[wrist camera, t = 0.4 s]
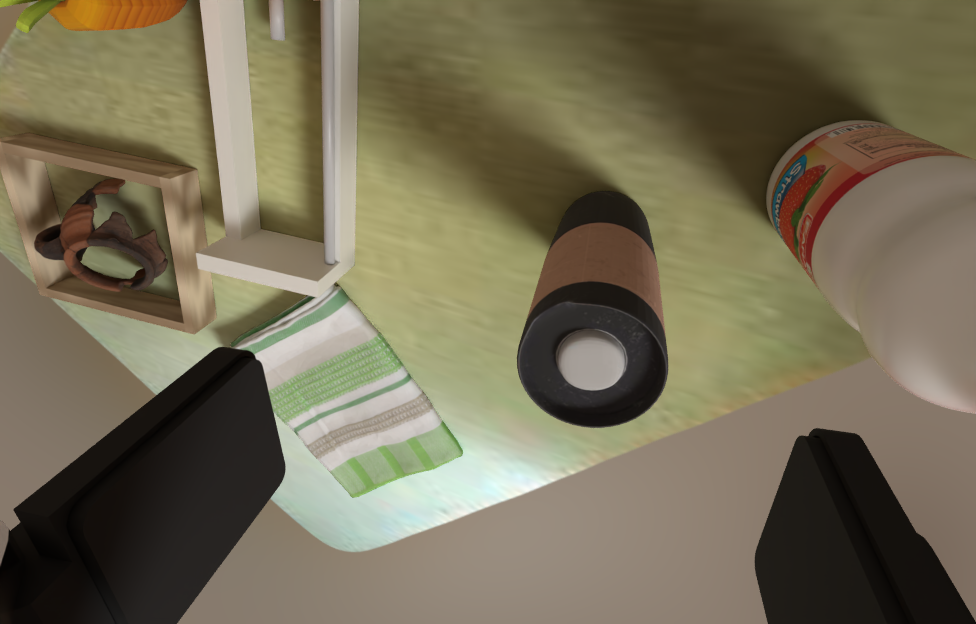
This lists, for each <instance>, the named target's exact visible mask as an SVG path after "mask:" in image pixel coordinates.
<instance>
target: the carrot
mask: <svg viewBox="0 0 976 624" xmlns="http://www.w3.org/2000/svg"><path fill="white" fill-rule="evenodd" d="M33 1H37V0H0V7H5V6H9V5H15V4H22V3H28V2H33ZM186 2H187V0H39V1H38V2H37V3H35V4H33V5H31V6H30V7H28V8H26V9H25V10H24V11H23V12H22V14H21V15H20V16H19V18H18V21H17V23H16V27H17V28H18V29H20V30H21V31H23V32H26V33H28V32H29V31H30V30H31V29H32V27H33V26H34V25H35V23H37V22H38V21H39V20H40V19H41V18H42V17H43V16H45V15H46V14H47V13H48V12H49V13H50V14H51V15H52V16H53V17H54V18H55V19H56V20H57V21H58V22H59V23H60V24H61V25H63V26H64V27H65V28H66V29H69V30H75V31H92V30H118V29H131V28H142V27H147V26H150V25H154V24H158V23H161V22H163V21H166V20H169V19H171V18H172V17H173V16H175V15H176V14H177V13H179V12H180V10H181V9H182V8H183V7H184V5H185V4H186Z"/></svg>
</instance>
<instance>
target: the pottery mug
mask: <svg viewBox="0 0 976 624" xmlns="http://www.w3.org/2000/svg"><path fill="white" fill-rule="evenodd" d="M124 184H125V180H123V179H108V180H104V181H101V182H99V183H97V184H96V185H95V186H94V187H93V188H91V189H89V190H88V191H87V192H86V193H85V194H84V195H83V196H82V197H81V198H79V199H78V200H77V201H76V202H75V203H74V204H73V205H72V207H71V208H70V209H69V210H68V211H67V213H66V215H65V217H64V219H63V220H62V223H61V224H57V225H54V226H51V227H49V228H47V229H45V230H43V231H42V232H40V233H39V234H37V236H36V239H35V241H34V248H35V250H36V251H37V252H38V253H40V254H41V255H42V256H43V257H44V258H47V259H51V260H64V262H65V264H66V266H67V268H68V269H69V270H70V271H71V272H72V273H73V274H74V275H75V276H77V277H78V278H79V279H81V280H82V281H84V282H86V283H88V284H90V285H93V286H95V287H99V288H101V289H105V290H110V291H116V292H120V291H122V289H123V286H124V285H127V284H129V285H130V284H131V286H130V288H131V289H133V290H142V289H145V288H146V287H148V286H149V285H150V284H151V283H152V282H153V281H154V278H156V277H158V276H159V275H161V274H162V273H163V272H164V271H165V269H166V267H167V263H168V260H167V259H166V258H165V257H166V255H165V253H164V251H163V250H162V249H161V248H160V246H159V245H158V243H157V235H156V231H155V230H152V231H151V232H150V233H148V234H146V235H143V236H140V237H138V238H135V239H133V238H132V230H131V228H130V227H129V225H128V224H127V222H126V219H125V217H124V216H123V215H121V214H119V213H118V212H112V214H111V216H110V218H109V220H107V221H105V222H104V223H103V224H102V225H101V226H100V227H98V228H97V229H96V230H95V228H94V225H93V223H92V222H93V217H94V211H93V210H94V209H96V208H97V203H96V198H95V196H96V195H99V194H116V193H118V191H119V188H120V187H121V186H123V185H124ZM89 246H104V247H109V248H113V249H117V250H120V251H123V252H125V253H127V254H129V255H131V256H132V257H134V258H135V259H136V260H138V261H139V262H140V263H141V264H142V266H143V267H144V268H143V269H140V270H138V271H137V272H136V274H135V276H134V277H133V278H131V279H121V278H114V277H109V276H106V275H103V274H101V273H98V272H96V271H94V270H92V269H90V268H88V267H87V266H85V265H83V264H82V263H81V262H80V261H82V257H83V254H84V253H85V251H86V249H87V247H89Z"/></svg>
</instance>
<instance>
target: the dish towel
mask: <svg viewBox="0 0 976 624" xmlns="http://www.w3.org/2000/svg"><path fill="white" fill-rule="evenodd" d="M231 346H232V348H235V349H242V350H248V351H251V352H252V353H253V354H254V355H255V357H256V359H257V360H259V361H260V362H261V363H262V365H263V369H264V373H265V378H266V382H267V387H268V391H269V395H270V400H271V404H272V409H273V411H274V412H275V414H276V415H277V416H278V417H279V418H280V419H281V420H282V421H283V422H284V423H285V424H286V425H287V426H289V427H290V428H291V429H292V430H293V431H294V432H295V433H296V435H297V436H298V437H299V438H300V439H301V440H302V441H303V443H304V444H305V446H306V447H307V448H308V449H309V451H310V452H311V453H312V454H313V455H314V456H315V457H316V458H317V459H318V460H319V461H320V462H321V463H322V464H323V465H324V466H325V467H326V468H327V470H328V471H329V472H330V473H331V474H332V475H333V476H334V477H335V479H336V480H337V481H338V482H339V483H340V484H341V485H342V486H343V487H344V488H345V490H346V491H347V492H348V493H349V494H350V496H351V497H352V498H354V497H359V496H361V495H363V494H365V493H367V492H370V491H372V490H374V489H376V488H378V487H380V486H382V485H385V484H387V483H389V482H392V481H394V480H397V479H399V478H402V477H405V476H408V475H411V474H415V473H419V472H423V471H428V470H432V469H435V468H437V467H439V466H441V465H443V464H445V463H447V462H450V461H452V460H453V459H455V458H457V457H461V456H462V454H463V450H462V448H461V447H460V445H459V443H458V441H457V440H456V438H455V437H454V436H453V434H452V433H451V432H450V431H449V429H448V428H447V426H446V425H445V423H444V422H443V421H442V419H441V418H440V416H439V415H438V413H437V412H436V410H435V409H434V407H433V405H432V404H431V402H430V401H429V399H428V397H427V396H426V395H425V393H424V392H423V391H422V390H421V388H420V387H419V386H418V385H417V383H416V382H415V381H414V380H413V378H412V377H411V376H410V375H409V373H408V372H407V370H406V368H405V367H404V365H403V364H402V362H401V361H400V359H399V358H398V357H397V355H396V354H395V352H394V351H393V350H392V348H391V347H390V346H389V344H388V343H387V342H386V340H385V339H384V337H383V336H382V335H381V334H380V332H378V331H377V329H376V328H375V327H374V326H373V325H372V324H371V323H370V322H369V320H368V319H367V318H366V317H365V316H364V314H363V313H362V312H361V311H360V309H359V308H358V307H357V306H356V305H355V304H354V303H353V302H352V301H351V300H350V299H349V298H348V296H347V295H346V294H345V292H344V291H343V289H342V288H341V287H339V286H337V287H336V286H335V285H334V284H333V285H332V286H331V287H330V288H328V289H327V290H326V291H325V292H324V293H323V294H322V295H321V296H320V297H319V298H317V297H313V296H309V295H308V296H306V297H305V298H303V299H302V300H300V301H298V302H297V303H296V304H294V305H293V306H291V307H289V308H288V309H286V310H285V311H283V312H282V313H280V314H279V315H277V316H275V317H273V318H272V319H270V320H268V321H267V322H265V323H263V324H261V325H260V326H257V327H255V328H253V329H251V330H250V331H248V332H247V333H245V334H243V335H241V336H240V337H238V338H237V339H236V340H235V341H234V342H232V343H231Z"/></svg>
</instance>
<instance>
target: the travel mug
mask: <svg viewBox="0 0 976 624" xmlns="http://www.w3.org/2000/svg"><path fill="white" fill-rule="evenodd" d="M517 368H518V373H519V377H520V380H521V383H522V385H523V387H524V389H525V391H526V392H527V394H528V395H529V397H530V398H531V399H532V400H533V401H534V402H535V403H536V404H537V405H538V406H539V407H540V408H541V409H542V410H544V411H545V412H546V413H548V414H549V415H551V416H553V417H555V418H557V419H559V420H561V421H563V422H566V423H569V424H572V425H577V426H581V427H590V428H603V427H612V426H616V425H620V424H623V423H627V422H629V421H631V420H633V419H635V418H637V417H639V416H640V415H642V414H643V413H645V412H646V411H647V410H648V409H650V408H651V407H652V405H653V404H654V403H655V402H656V401H657V399H658V398H659V397H660V395H661V393H662V391H663V389H664V387H665V384H666V380H667V375H668V354H667V346H666V337H665V328H664V319H663V310H662V301H661V292H660V283H659V274H658V267H657V261H656V257H655V252H654V248H653V243H652V239H651V234H650V230H649V226H648V222H647V219H646V217H645V215H644V213H643V211H642V210H641V208H640V207H639V206H638V205H637V204H636V203H635V202H634V201H633V200H631V199H630V198H628V197H627V196H625V195H622V194H619V193H616V192H610V191H600V192H594V193H590V194H588V195H585V196H583V197H581V198H580V199H578V200H577V201H575V202H574V203H573V204H572V205H571V206H570V207H569V209H568V210H567V211H566V213H565V215H564V216H563V218H562V220H561V223H560V225H559V227H558V230H557V232H556V234H555V237H554V239H553V241H552V244H551V246H550V249H549V251H548V253H547V256H546V258H545V262H544V265H543V268H542V271H541V275H540V278H539V281H538V285H537V288H536V291H535V294H534V298H533V301H532V304H531V308H530V311H529V314H528V317H527V321H526V324H525V327H524V331H523V334H522V337H521V340H520V344H519V347H518V354H517Z"/></svg>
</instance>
